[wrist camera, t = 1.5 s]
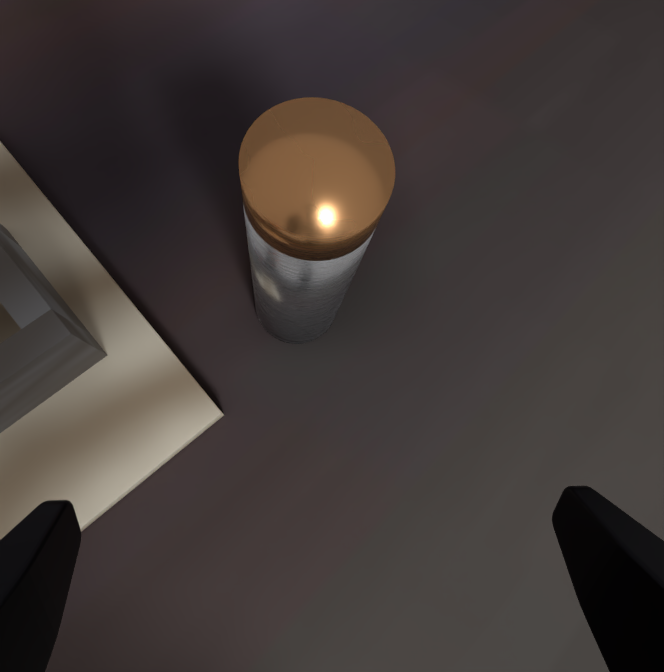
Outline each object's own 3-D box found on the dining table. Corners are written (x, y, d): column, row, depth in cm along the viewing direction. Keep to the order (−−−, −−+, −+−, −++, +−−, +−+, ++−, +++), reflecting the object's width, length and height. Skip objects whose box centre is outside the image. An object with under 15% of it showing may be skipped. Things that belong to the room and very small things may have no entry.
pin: (352, 310, 24) (426, 179, 13) (291, 360, 23) (309, 268, 12) (301, 251, 25) (326, 72, 13) (238, 298, 24) (205, 150, 12)
